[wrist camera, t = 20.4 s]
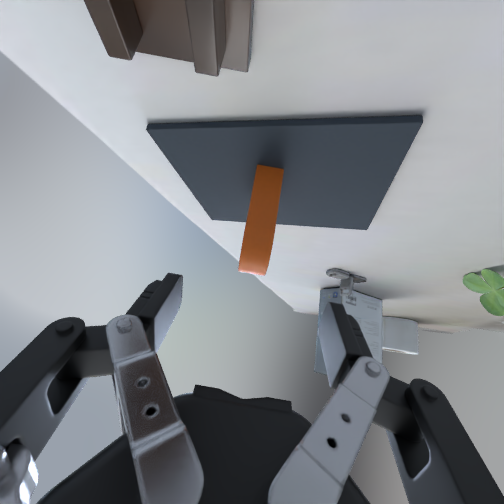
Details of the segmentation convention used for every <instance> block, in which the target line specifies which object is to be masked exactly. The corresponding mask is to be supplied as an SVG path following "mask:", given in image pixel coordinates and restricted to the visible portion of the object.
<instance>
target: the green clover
mask: <svg viewBox="0 0 504 504" xmlns="http://www.w3.org/2000/svg"><path fill="white" fill-rule="evenodd" d="M481 275H482V276H483V278H484V280H485V281H486V282H487V283H488V284H489V285H488V284H487V283H486V282H485V281H484V280H483V279H482V278H480V277H479V276H478V275H476V274H474V273H469V274H468V275H465V276H464V278H463V284H464V285H465V286H466V287H467V288H468V289H470V290H472V291H474V292H477V293H482V294H483V293H484V294H483V295H482V296H481V297H480V302H481V304H482V305H483V307H484V308H485V309H486V310H487V311H488V312H489V313H491V314H493V315H496V316H503V315H504V289H502V288H504V278H503V277H501V276H500V275H499V274H498V273H496V272H493V271H491V270H488V269H484V270H482V271H481ZM499 289H500V290H499ZM488 292H489V293H488ZM485 293H487V294H485Z"/></svg>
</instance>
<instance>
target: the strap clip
mask: <svg viewBox="0 0 504 504" xmlns="http://www.w3.org/2000/svg"><path fill="white" fill-rule="evenodd" d="M326 274H327V275H328V276H329V277H332V278H336V279H341V284H340V288H339V293H340V295H341V296H350V295H351V293H352V290H353V282H355V283H360V282H366V279H364V278H363V277H359V276H356V275H350V276H349V273H348V272H345V271H343V270H338V269H335V270H329V271H327V272H326ZM346 289H349V293H342V290H346Z"/></svg>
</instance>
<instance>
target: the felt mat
mask: <svg viewBox="0 0 504 504" xmlns="http://www.w3.org/2000/svg"><path fill="white" fill-rule="evenodd" d="M422 123H423V116H422V115H419V116H388V117H356V118H324V119H293V120H261V121H229V122H198V123H166V124H148V125H147V128H146V130H147V132H148V133H149V134H150V136H151V137H152V138H153V140H154V141H155V143H156V144H157V145H158V147H159V148H160V149H161V151H162V152H163V154H164V155H165V156H166V158H167V159H168V160H169V162H170V163H171V164H172V166H173V167H174V169H175V170H176V171H177V173H178V174H179V175H180V177H181V178H182V180H183V181H184V182H185V184H186V185H187V186H188V188H189V189H190V191H191V192H192V193H193V195H194V196H195V197H196V199H197V200H198V202H199V203H200V204H201V206H202V207H203V208H204V210H205V211H206V212H207V214H208V215H209V217H210V218H211V219H212V220H221V221H236V222H246V221H247V216H248V210H249V205H250V200H251V195H252V189H253V184H254V179H255V174H256V168H257V165H263V166H269V167H274V168H280V169H284V173H283V179H282V186H281V193H280V200H279V206H278V213H277V220H276V224H282V225H298V226H313V227H329V228H344V229H359V230H367V229H368V227H369V225H370V223H371V221H372V219H373V217H374V215H375V214H376V212H377V210H378V208H379V206H380V204H381V202H382V200H383V198H384V196H385V194H386V192H387V190H388V189H389V187H390V185H391V183H392V181H393V179H394V177H395V175H396V173H397V171H398V169H399V167H400V165H401V164H402V162H403V160H404V158H405V156H406V154H407V152H408V150H409V148H410V146H411V144H412V142H413V140H414V139H415V137H416V135H417V133H418V131H419V129H420V127H421V125H422Z"/></svg>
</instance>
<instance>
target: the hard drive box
mask: <svg viewBox="0 0 504 504" xmlns="http://www.w3.org/2000/svg"><path fill="white" fill-rule="evenodd" d="M342 293H349V289H346V290H342ZM328 302H334V303H340V304H343V305H344V308H345V310H346V313H347V314H349V315H352V316H353V317H354V318H355V320H356V321H357V322H358V324H359V326H360V328H361V331H362V333H363V335H364V338H365V340H366V342H367V344H368V347H369V349H370V351H371V354H372V356H373V358H374V359H376V360H377V361H379V362H380V363H382V300H379V299H376V298H374V297H370V296H367V295H364V294H361V293H359V292H356V291H353V290H352V293H351V295H350V296H341V295H340V293H339V288H333V289H321V290H320V303H319V316H318V330H317V343H316V357H315V370H314V372H316V373H320V374H324V375H327V376H328V374H327V370H326V365H325V361H324V356H323V352H322V347H321V343H320V338H319V323H320V321H321V318H322V315H323V312H324V310H325V307H326V304H327V303H328Z"/></svg>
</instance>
